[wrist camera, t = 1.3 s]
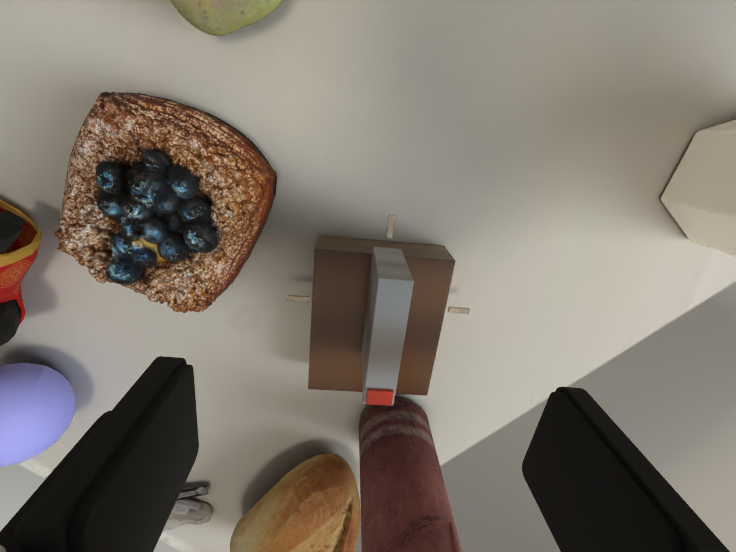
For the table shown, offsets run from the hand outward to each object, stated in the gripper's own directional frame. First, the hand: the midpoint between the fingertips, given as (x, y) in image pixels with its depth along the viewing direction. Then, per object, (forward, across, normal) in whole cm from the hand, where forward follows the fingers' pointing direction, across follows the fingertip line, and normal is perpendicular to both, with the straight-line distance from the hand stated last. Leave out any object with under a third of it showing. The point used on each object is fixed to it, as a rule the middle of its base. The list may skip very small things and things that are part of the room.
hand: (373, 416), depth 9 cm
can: (+17, -5, +17) cm, 24 cm away
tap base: (+17, -2, +4) cm, 18 cm away
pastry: (+17, +12, -1) cm, 21 cm away
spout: (+14, -2, +4) cm, 15 cm away
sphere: (+16, +26, +17) cm, 35 cm away
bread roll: (+17, +2, +26) cm, 32 cm away
